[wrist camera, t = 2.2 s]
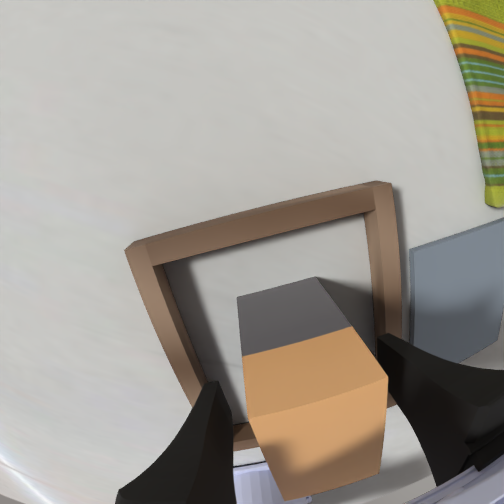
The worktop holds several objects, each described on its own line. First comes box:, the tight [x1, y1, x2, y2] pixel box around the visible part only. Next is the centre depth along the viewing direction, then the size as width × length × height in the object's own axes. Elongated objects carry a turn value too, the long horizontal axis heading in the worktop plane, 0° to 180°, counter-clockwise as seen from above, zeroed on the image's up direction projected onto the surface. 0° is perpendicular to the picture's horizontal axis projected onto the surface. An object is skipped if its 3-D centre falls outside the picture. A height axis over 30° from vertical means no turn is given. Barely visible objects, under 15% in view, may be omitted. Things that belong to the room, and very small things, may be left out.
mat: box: [409, 218, 504, 363], centre depth 16 cm, size 10×9×1 cm
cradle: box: [124, 181, 402, 451], centre depth 15 cm, size 14×12×2 cm
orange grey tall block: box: [237, 277, 388, 501], centre depth 12 cm, size 6×4×8 cm, turn 14°
